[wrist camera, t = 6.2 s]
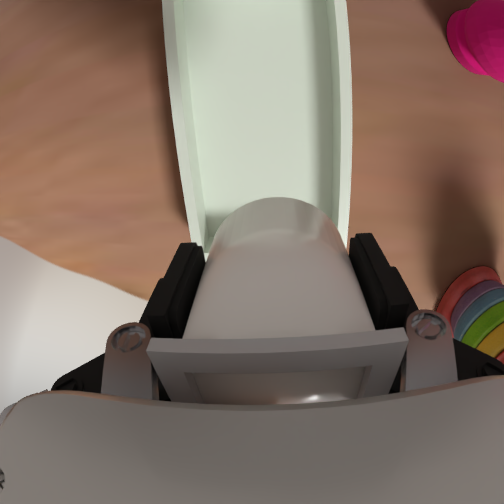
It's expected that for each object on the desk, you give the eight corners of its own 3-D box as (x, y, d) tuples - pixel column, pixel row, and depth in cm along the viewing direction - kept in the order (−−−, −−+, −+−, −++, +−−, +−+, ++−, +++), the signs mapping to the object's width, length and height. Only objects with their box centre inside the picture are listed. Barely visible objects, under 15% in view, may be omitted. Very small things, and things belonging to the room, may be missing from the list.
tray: (331, -18, 16) (341, -32, 13) (337, 235, 27) (345, 256, 24) (174, -8, 17) (160, -20, 14) (202, 241, 28) (195, 262, 25)
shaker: (346, 193, 11) (421, 331, 5) (339, 306, 13) (368, 448, 7) (200, 202, 11) (133, 342, 5) (221, 312, 14) (196, 453, 8)
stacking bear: (431, 340, 34) (477, 459, 19) (431, 281, 29) (505, 419, 14) (496, 312, 31) (554, 413, 16) (505, 251, 27) (591, 359, 11)
